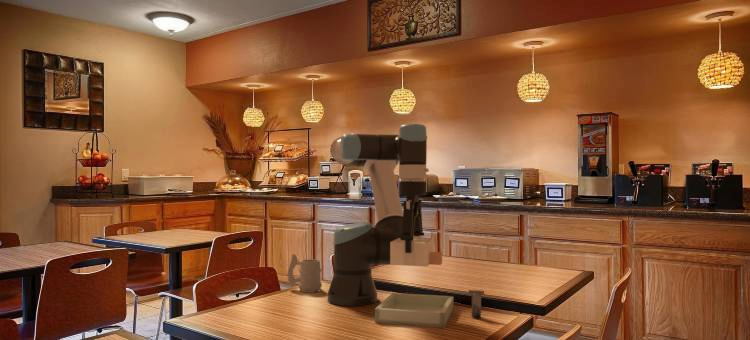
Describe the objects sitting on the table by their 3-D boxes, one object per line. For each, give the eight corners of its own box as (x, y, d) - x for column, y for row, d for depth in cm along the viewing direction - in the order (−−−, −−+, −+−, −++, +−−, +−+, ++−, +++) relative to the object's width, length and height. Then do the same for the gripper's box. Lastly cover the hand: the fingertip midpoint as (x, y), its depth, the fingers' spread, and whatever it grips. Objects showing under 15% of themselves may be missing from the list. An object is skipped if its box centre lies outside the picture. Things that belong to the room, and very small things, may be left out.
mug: (318, 293, 170) (318, 256, 170) (283, 291, 172) (283, 255, 172) (324, 288, 178) (324, 253, 178) (291, 287, 180) (291, 252, 180)
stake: (468, 318, 140) (468, 291, 140) (469, 315, 142) (469, 289, 142) (483, 319, 139) (483, 292, 139) (484, 316, 141) (484, 290, 141)
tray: (374, 322, 135) (374, 308, 135) (392, 304, 155) (392, 292, 155) (444, 327, 131) (444, 313, 131) (453, 308, 150) (453, 296, 150)
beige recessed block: (390, 264, 140) (390, 242, 140) (398, 259, 149) (398, 238, 149) (438, 267, 136) (438, 243, 136) (443, 261, 146) (443, 239, 146)
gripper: (419, 180, 132) (419, 269, 131) (432, 180, 153) (432, 256, 153) (389, 180, 134) (389, 268, 133) (407, 180, 155) (407, 255, 155)
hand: (412, 262), depth 143 cm, fingers closed on beige recessed block, 10 cm apart
